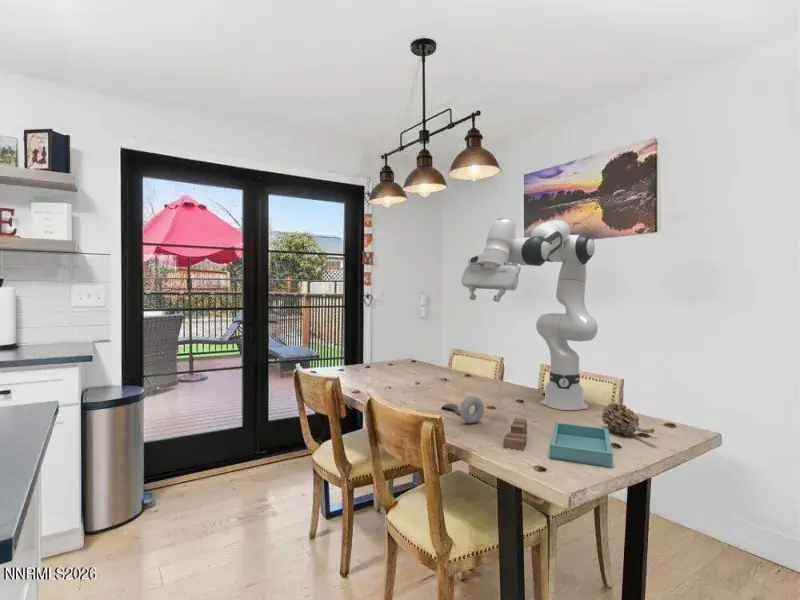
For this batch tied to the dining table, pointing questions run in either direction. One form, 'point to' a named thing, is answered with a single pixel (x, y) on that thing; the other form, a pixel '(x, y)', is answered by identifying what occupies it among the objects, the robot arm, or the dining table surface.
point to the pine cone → (622, 419)
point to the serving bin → (581, 444)
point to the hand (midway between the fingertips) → (483, 300)
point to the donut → (466, 406)
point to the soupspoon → (451, 407)
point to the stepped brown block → (516, 435)
